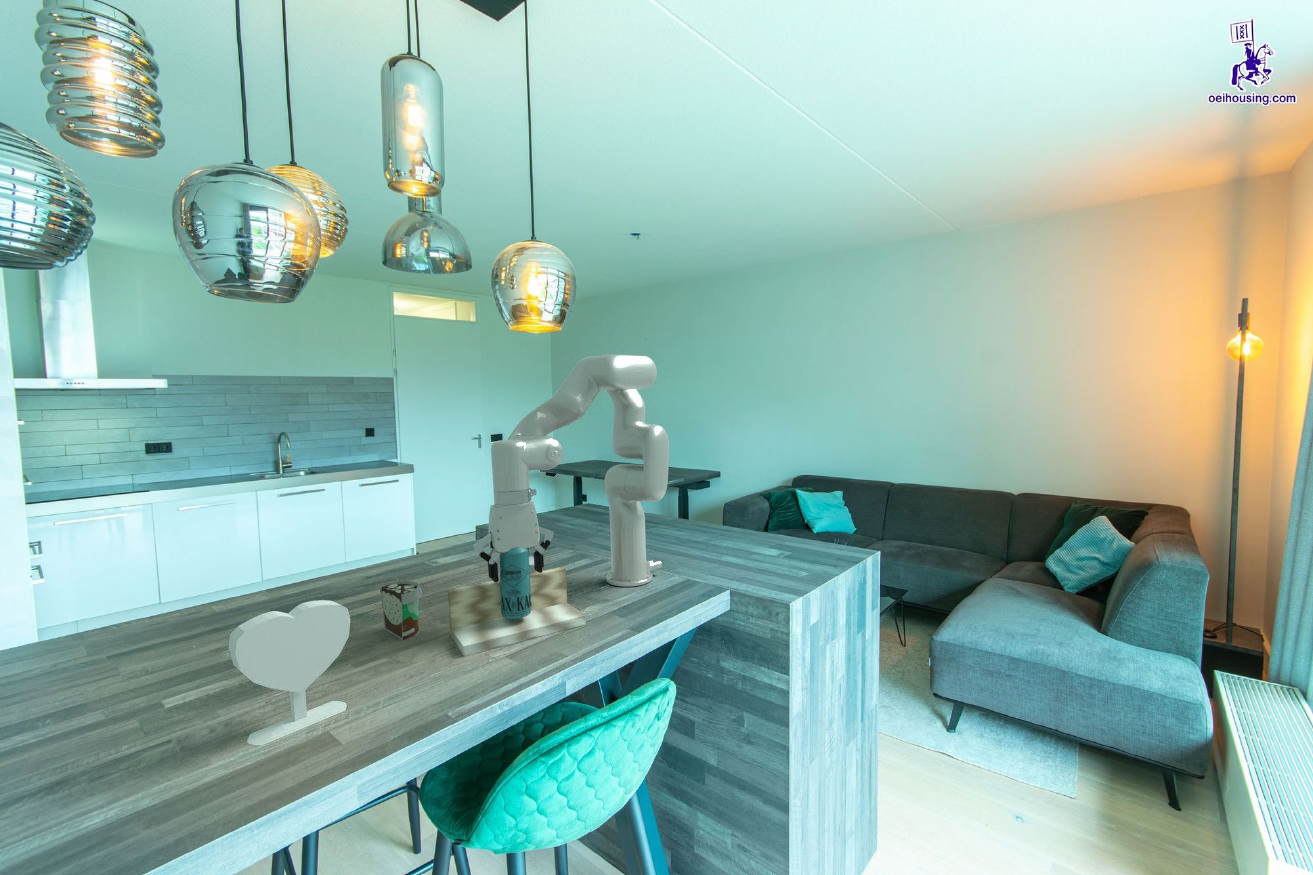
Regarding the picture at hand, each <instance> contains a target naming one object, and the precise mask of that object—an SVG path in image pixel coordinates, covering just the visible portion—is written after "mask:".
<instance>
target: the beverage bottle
mask: <svg viewBox="0 0 1313 875" xmlns="http://www.w3.org/2000/svg"><path fill="white" fill-rule="evenodd" d="M529 556H530V548H529V549H527V548H523V547H515V548H512V549H510V550H509V551H508V552H505V553H501V554H500V555H499V575H498V578H499V579H500V585H501V586H500V588H501V590H500V591H501V601H500V604H501V609H502V610H501V612H502V613H501V614H502V616H503V617H504V618H507V619H518V618H523V617H526V616H528V615H529V614H530V613H531V610H532V609H531V608H532V607H531V606H532V600H531V590H530V587H531V586H530V585H531V584H530V576H531V574H530V569H529Z"/></svg>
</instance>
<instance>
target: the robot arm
mask: <svg viewBox="0 0 1313 875" xmlns="http://www.w3.org/2000/svg"><path fill="white" fill-rule="evenodd" d="M657 376H658V369H657V366H656V363H655V362H654V361H653V359H652V358H650V357H649V356H646V355H633V354H632V355H629V354H627V355H626V354H602V355H590V356H586V357H583V358H581V359H580V360H578V361H577V363H575V365H574V366H573V367H572V369H571V371H570V372H569V374H567V376H566V377H565V379H564V380H563V382H562V383H561V385H560V386H559V388H557V390H556V392H555V393H554V394H553V395H552V396H551V397H550V398H548V400H546V401H544V402H543V403H542V404H540V405H539V406H538V407H536V408H535V409H534V410H532V411H531V412H529V413H527V415H525V416H524V417H523V418H522V419H521V420H520V421H519V423H518V424H516V426H515V427H514V429H513V430H512V431H511V433H510V435H509V436H508V437H507V439H502V440H501V439H500V440H497V441H494V442H493V443H492V444H491V447H490V453H491V456H490V457H491V459H490V460H491V470H492V484H493V485H492V487H493V503H494V504H492V505H490V506H489V512H488V513H489V514H488V533H487V535H485V536H483V537H482V538H480V539H479V540H478V541H476V542H475V543H473V545H472V546H473V549H474V550H475V551H476V553H477V555H478V556H479V557H480V558H481V559H483V560H484V561H485V562H486V563H487V568H488V569H487V570H488V578H489V579H491V581H494V582H495V583H496V582H498V581H499V579H500V577H499V566H498V563H497V562H496V561H497V559H498V558H500V554H501V553H505V552H508V551H509V550H510V549H512V548H515V547H523V548H527V549H529V550H530V549H533V550H534V552H533V556H534V569H535V570H536V571H537V572H539V573H542V567H545V562H544V561H545V560H544V554H546V550H547V549H548V548H549V546H550V545H551V541H552V540H553V537H554V535H555V533H554V532H555V531H552V530H550V529H547V528H544V527H541V526H540V525H539V519H538V515H537V510H536V506H535V503H534V501H533V500H532V497H533V496H537V490H536V489H532V488H531V487H530V484H531V483H530V471H548V470H551V469H555V468H556V467H557V466H559V464H560V463H561V461H562V460H563V458H564V449H563V445H562V444H561V443H560V441H558V440H557V439H556V438H555V437H554V438H553V437H551V436H548V435H549V434H551V433H552V432H554V431H556V430H558V429H560V428H564V427H567V426H569V425H571V424H574V423H576V422H578V421H579V420H581V419H582V418H584V416H585V415H586V413H587V411H588V410H589V408H590V407H591V404H592V403H593V402H594V401H595V399H596V397H597V396H598V394H599V393H600V392H601V391H606V392H607V394H608V396H609V397H610V399H611V402H612V404H613V431H612V451H613V453H614V454H615V456H616V457H618V458H620V459H625V460H639V461H642V462H643V465H642V464H632V463H631V464H630V463H629V464H628V463H626V464H625V463H619V464H616V465H613V466H612V467H610V468H609V469H608V470H607V471H606V473H605V476H604V489H605V493H606V494H605V495H606V497H607V503H608V510H609V512H608V513H609V529H610V530H609V532H610V556H611V558H610V562H611V563H610V564H611V572H609V573H608V574H606V578H605V579H606V582H607V583H608V584H610V585H611V586H615V587H638V586H641V585H645V584H648V583H650V582H651V581H652V580H653V573H652V572H651V571H653V570H654V569H655V570H656V569H660V568H662V567H663V563H662V562H661V560H657V561H653V560H647V547H646V546H647V542H646V516H645V511H644V509H643V506H642V504H641V502H646V503H656V502H659V501H661V500H663V498H664V497H665V494H666V492H667V488H668V483H669V482H668V480H669V465H670V464H669V463H670V439H669V435H668V433H667V431H666V429H665V428H664V427H662V426H661V425H659V424H654V423H646V405H645V404H646V403H645V401H644V399H643V397H642V396H641V393H639V392H640V391H639V390H645V389H646V390H647V389H649V388H651V387H652V386H653V385H654V383H655V382H656V380H657ZM540 534H541V535H544V538H543V540H542V541H541V543H540V540H541V535H540ZM487 544H488V546H489V548H490V551H489V552H488V553H486V551H484V547H485V546H486V545H487Z"/></svg>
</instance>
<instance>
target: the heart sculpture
mask: <svg viewBox="0 0 1313 875" xmlns="http://www.w3.org/2000/svg"><path fill="white" fill-rule="evenodd" d="M350 628H351V616H350V613H349V608H347V607H346V606H344V605H342V604H340V603H338V602H336V601H333V600H326V599H325V600H324V599H322V600H321V599H320V600H309V601H306V602H302V603H300V604H298V605H297V606H295V607H294V608H293V609H292V610H290V611H289V612H288V613H286V612H283V611H275V610H272V611H268V612H264V613H261V614H259V615H257V616H255V617H253V618H250V619H248V620H247V621H245V622H243V623H241V624H240V625H238V626H237V627H236V628H234V629H233V631H232V632H230V634H229V640H228V642H229V643H228V651H229V654H230V658H231V661H232V664H233V666H234V667H235V668H236V669H237V670H239V671H240V672H241V673H242V674H243V675H245V677H247V678H248V679H249V680H250V681H251V682H252V683H253V684H256V685H259V686H262V687H264V688H265V687H266V688H268V689H271V690H278V691H279V690H280V691H285V692H289V705H290V708H289V709H290V717H288V718H286V719H283V720H281V721H279V722H276V723H273V724H271V725H268V726H266V727H263V728H261V729H259V730H256V731H254V732H253V731H252V732H251V733H250V734H249V736H248V737H247V740H246V742H247V744H249V745H253V746H260V747H262V746H264V745H266V744H269V743H271V742H274V741H277V740H278V739H281V738H283V737H285V736H287V735H291V734H293V733H295V732H297V731H298V732H299V731H300V730H302V729H305V728H307V727H310V726H311V725H314V724H316V723H319V722H322V721H324V720H326V719H329V718H331V717H333V716H335V715H338V714H340V713H344V712H345V711H346V710H347V705H348V704H347V703H346V702H345V701H339V700H331V701H329V702H326V703H323V704H321V705H318V706H317V707H314V708H311V709H309V710H308V709H307V697H306V695H307V694H306V690H307V688H308V687H309V686H310V685H311V684H312V683H314V682H315V680H317V679H318V678H319V677H320V676H322V674H323V673H324V672H325V671H327V670H328V669H329V667H330V666H331V665H332V664H333V663H334V661H335V660H336V659H337V658H338V657H339V656H340V655H341V654H342V653H341V652H342V651H343V648H344V647H345V645H346V643H347V641H348V639H349V637H350Z"/></svg>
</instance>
